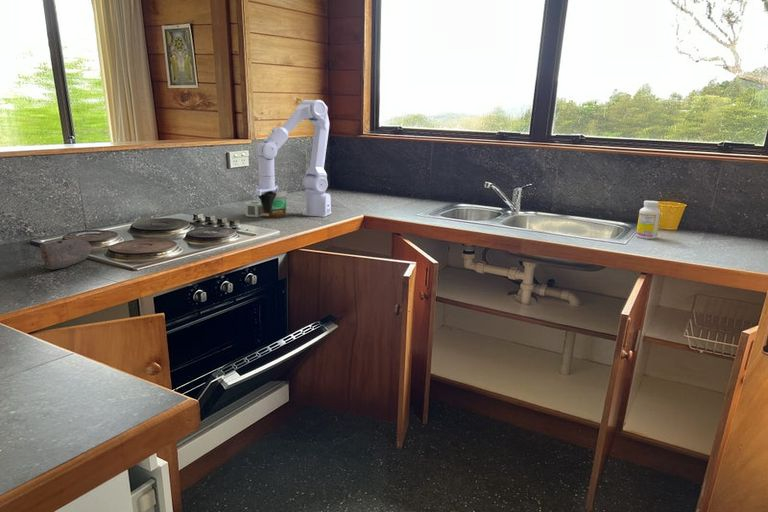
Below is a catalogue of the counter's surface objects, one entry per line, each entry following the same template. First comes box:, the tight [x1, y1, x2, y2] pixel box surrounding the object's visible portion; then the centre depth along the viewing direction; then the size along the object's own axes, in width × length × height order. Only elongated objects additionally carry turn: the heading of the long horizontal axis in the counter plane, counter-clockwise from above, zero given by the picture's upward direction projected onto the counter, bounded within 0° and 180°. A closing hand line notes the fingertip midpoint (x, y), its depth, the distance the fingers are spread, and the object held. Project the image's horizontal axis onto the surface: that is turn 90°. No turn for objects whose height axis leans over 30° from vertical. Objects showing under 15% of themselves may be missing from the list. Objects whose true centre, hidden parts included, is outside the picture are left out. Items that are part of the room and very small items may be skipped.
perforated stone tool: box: [39, 238, 92, 271], centre depth 135 cm, size 15×5×7 cm, turn 163°
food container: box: [260, 188, 289, 219], centre depth 202 cm, size 12×6×10 cm, turn 137°
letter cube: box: [244, 201, 263, 218], centre depth 205 cm, size 5×5×5 cm
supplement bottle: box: [635, 200, 661, 240], centre depth 184 cm, size 7×7×13 cm
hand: (267, 212), depth 197 cm, fingers closed
